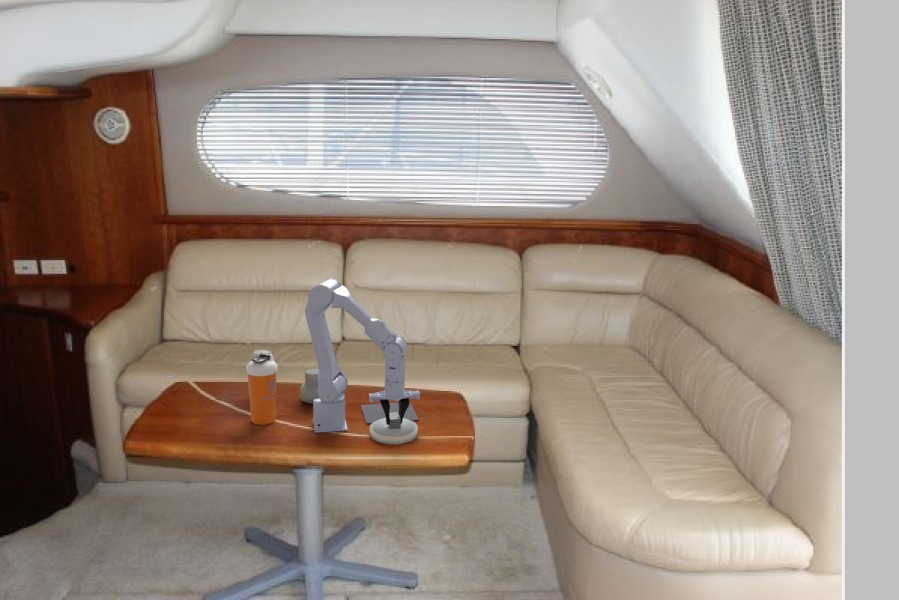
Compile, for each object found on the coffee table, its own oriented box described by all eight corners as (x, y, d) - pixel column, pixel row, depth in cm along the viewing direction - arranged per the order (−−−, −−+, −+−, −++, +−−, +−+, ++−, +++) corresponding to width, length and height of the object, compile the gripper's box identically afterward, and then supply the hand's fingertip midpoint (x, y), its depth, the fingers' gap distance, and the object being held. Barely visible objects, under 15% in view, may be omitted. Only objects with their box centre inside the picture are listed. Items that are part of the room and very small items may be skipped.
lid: (376, 437, 205) (376, 425, 204) (370, 420, 216) (370, 409, 215) (418, 434, 208) (418, 422, 207) (410, 417, 219) (410, 406, 218)
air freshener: (326, 407, 230) (325, 377, 227) (299, 407, 229) (299, 377, 226) (329, 394, 240) (328, 365, 238) (303, 394, 239) (303, 365, 237)
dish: (373, 446, 204) (373, 439, 204) (366, 425, 217) (366, 419, 217) (422, 442, 207) (422, 435, 207) (412, 422, 220) (412, 416, 220)
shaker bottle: (243, 424, 215) (240, 360, 210) (255, 412, 223) (253, 351, 218) (272, 427, 214) (270, 363, 209) (283, 415, 222) (281, 353, 217)
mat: (366, 424, 218) (366, 422, 218) (360, 406, 231) (360, 404, 231) (418, 420, 222) (418, 419, 222) (410, 403, 235) (410, 401, 235)
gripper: (371, 385, 203) (371, 430, 206) (422, 382, 206) (421, 426, 209) (368, 376, 209) (367, 420, 213) (417, 374, 213) (416, 417, 216)
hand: (394, 423), depth 211 cm, fingers closed on lid, 3 cm apart
